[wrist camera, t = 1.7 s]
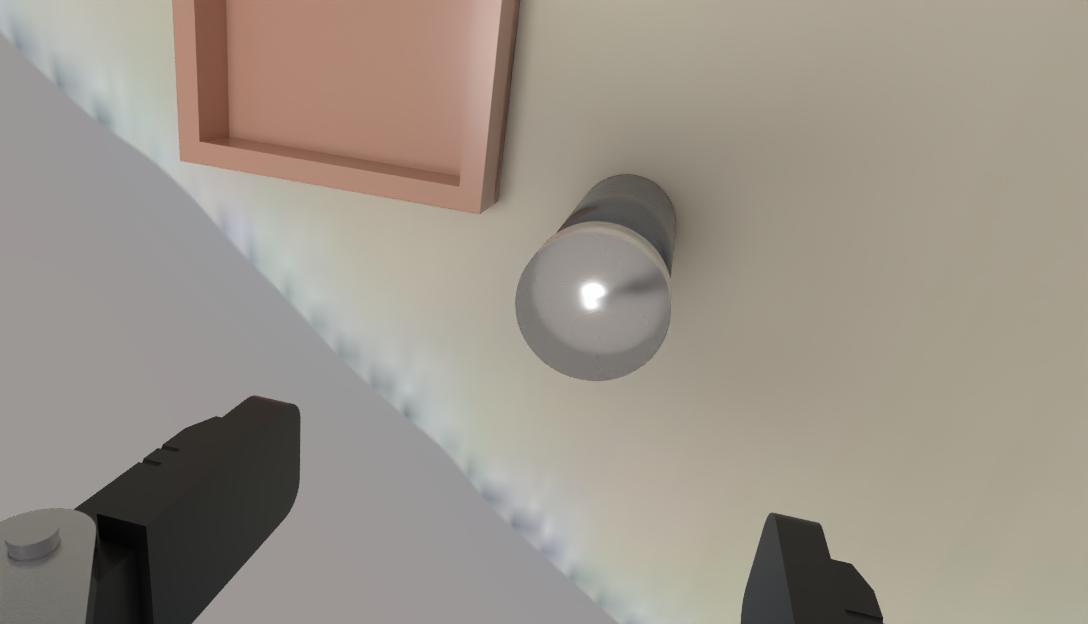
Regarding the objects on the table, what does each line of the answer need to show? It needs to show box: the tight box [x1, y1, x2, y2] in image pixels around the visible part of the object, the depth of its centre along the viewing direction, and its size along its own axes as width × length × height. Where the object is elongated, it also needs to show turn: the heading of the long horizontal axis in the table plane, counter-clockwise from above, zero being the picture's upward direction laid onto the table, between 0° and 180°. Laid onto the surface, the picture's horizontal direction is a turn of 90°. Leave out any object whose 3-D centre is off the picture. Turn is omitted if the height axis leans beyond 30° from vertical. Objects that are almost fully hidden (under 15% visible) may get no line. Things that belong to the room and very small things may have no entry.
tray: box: [172, 0, 520, 214], centre depth 30 cm, size 14×12×3 cm
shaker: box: [515, 174, 676, 381], centre depth 27 cm, size 5×5×12 cm
